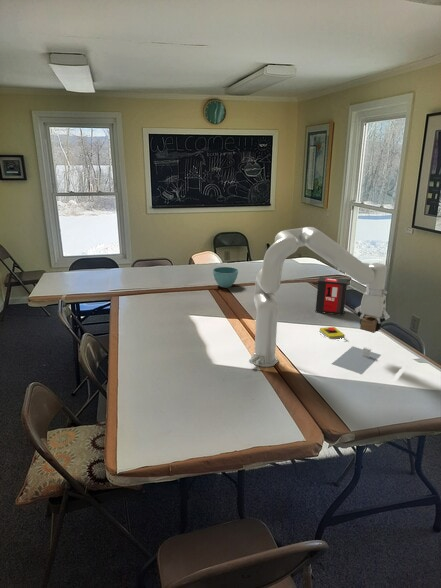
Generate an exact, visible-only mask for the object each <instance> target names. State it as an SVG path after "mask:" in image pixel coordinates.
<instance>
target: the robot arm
mask: <svg viewBox="0 0 441 588" xmlns="http://www.w3.org/2000/svg"><path fill="white" fill-rule="evenodd" d="M300 247H301V248H302V247H306V248H308V249H310V250H311V251H312V252H314V253H315V254H316V255H318V256H319V257H321V258H322V259H323V260H325V261H326V262H327V263H329V264H331V265H332V266H333V267H335V268H337V269H338V270H340V271H342V272H343V273H345V275H346V274H347V275H348V276H349V277H351V278H352V279H354V280H355V281H357V282H358V283H359V284H361V285H364V286H365V285H366V286H365V287H366V288H365V291H364V293H363V295H362V297H361V302H360V305H359V306H357V307H355V308H354V311H355V312H356V314H357V315H358V317H359V319H360V320H359V325H360V326H361V319H362V318H364V317H365V316H367V315H368V316H372V317H376V318H377V321H378V322H377V324H376V332H378V331H380V330H381V328H382V323H383V322H385V321H386V320H388V319H389V318H390V314H388V312H387V311H386V308H387V303H386V302H387V301H386V299H387V298H386V297H387V296H386V295H387V293H388V291H387V290H385V288H386V287H385V285H386V280H387V279H386V278H387V271H388V266H387V265H386V264H384V263H381V262H379V263H378V262H373V263H367V262H362V261H361V260H359V259H358V258H357V257H356V256H355V255H353V254H352V253H350V252H349V251H348V250H347V249H346V248H345V247H343V246H342V245H340V244H339V243H338V242H336V241H335V240H333V239H332V238H330V236H328V235H326V234H325V233H323V232H322V231H321V230H319V229H317V228H316V227H313V226H305V227H299V228H298V227H296V228H291V229H284V230H281V231H279V232H278V233H277V234H276V235H275V237H274V242H273V243H272V244H271V245H270V246H269V247H268V248H267V250H266V251H265V254H264V256H263V261H262V268H261V269H260V270H259V271H258V272H257V273H256V278H255V281H254V292H253V304H254V306H255V309H256V318H255V326H254V327H255V332H254V335H255V337H254V353H253V354H252V355H251V357H250V359H249V360H248V363H250V364H253V365H256V366H258V367H261V368H262V367H263V368H269V367H273V366H276V365H277V364H278V363H279V358H278V356H277V355H276V350H277V349H276V348H277V331H278V330H277V329H278V320H279V313H280V308H279V303H278V301H277V299H276V298H275V294H276V293H277V292H278V291H279V289H280V288H281V281H282V272H283V266H284V263H285V260H286V259H287V258H288V257H289V256H291V255H293V254H294V253H296V252H297V250H298V249H299V248H300ZM382 316H384V317H382ZM276 359H277V360H276ZM277 362H278V363H277ZM276 363H277V364H276ZM275 364H276V365H275Z"/></svg>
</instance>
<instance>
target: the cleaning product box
mask: <svg viewBox="0 0 441 588" xmlns="http://www.w3.org/2000/svg"><path fill="white" fill-rule="evenodd" d="M347 287H348V279H346V278H345V279H344V278H335V277H334V278H333V277H324V276H319V278H318V279H317V292H316V293H317V294H316V302H315V312H316V311H317V312H316V313H320V312H325V313H324V314H328V313H333V314H332V315H336V314H340V315H339V316H344V313H345V304H346V297H347V290H348V288H347Z"/></svg>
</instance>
